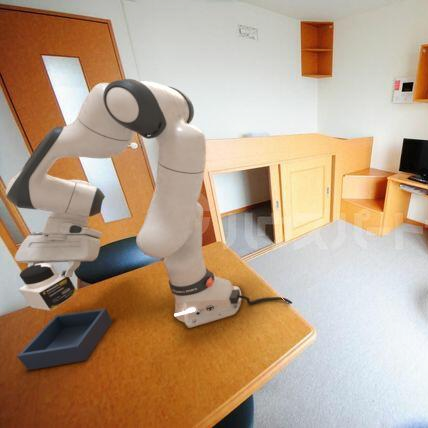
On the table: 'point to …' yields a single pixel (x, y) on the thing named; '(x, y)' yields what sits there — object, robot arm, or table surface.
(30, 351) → the bin
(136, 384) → the table surface
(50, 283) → the medicine bottle
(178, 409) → the table surface
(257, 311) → the table surface
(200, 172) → the robot arm
